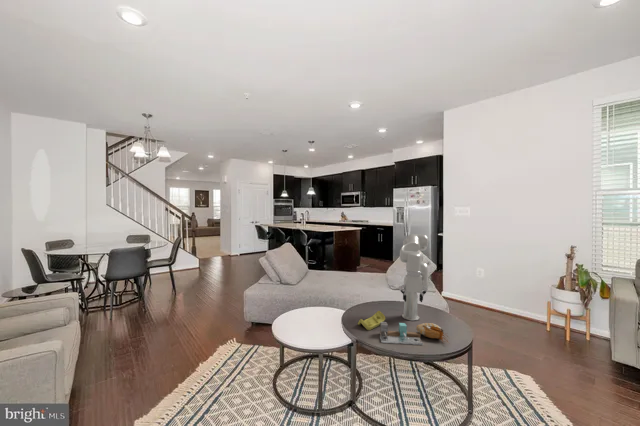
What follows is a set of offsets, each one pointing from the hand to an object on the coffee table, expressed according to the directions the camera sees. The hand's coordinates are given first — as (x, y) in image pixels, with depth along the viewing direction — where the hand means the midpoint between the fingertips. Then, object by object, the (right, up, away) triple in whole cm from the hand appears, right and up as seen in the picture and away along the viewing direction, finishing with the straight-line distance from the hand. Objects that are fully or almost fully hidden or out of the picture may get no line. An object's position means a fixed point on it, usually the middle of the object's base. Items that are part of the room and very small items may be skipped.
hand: (412, 301), depth 167 cm
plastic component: (-20, -25, +25) cm, 41 cm away
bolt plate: (-7, -26, +2) cm, 27 cm away
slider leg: (-4, -25, +5) cm, 26 cm away
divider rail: (-6, -26, +5) cm, 27 cm away
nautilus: (+15, -26, +7) cm, 31 cm away
